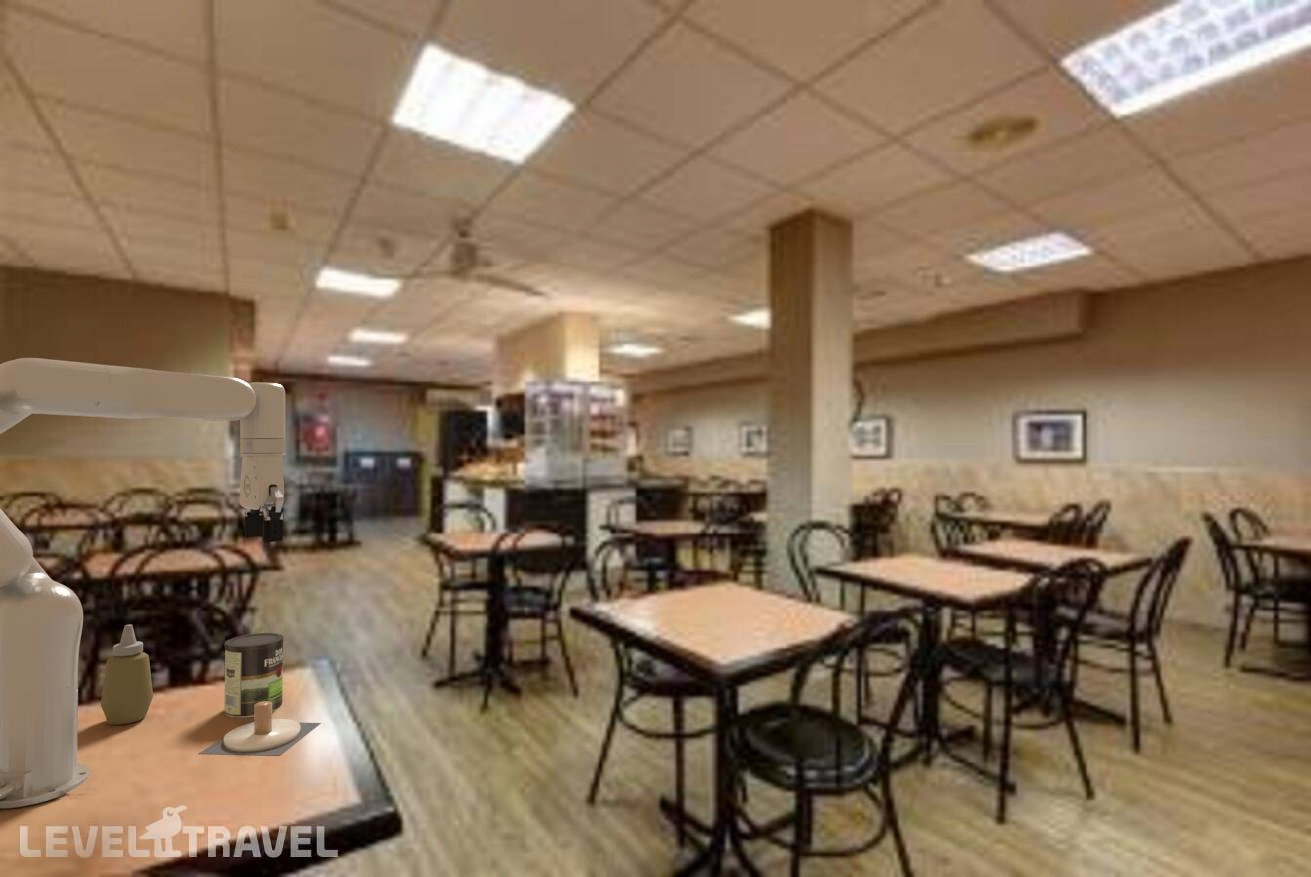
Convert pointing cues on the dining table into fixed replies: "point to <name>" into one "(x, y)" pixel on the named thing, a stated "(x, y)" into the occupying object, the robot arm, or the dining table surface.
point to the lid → (262, 731)
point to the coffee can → (253, 672)
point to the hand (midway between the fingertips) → (263, 538)
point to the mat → (277, 751)
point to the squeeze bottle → (127, 681)
